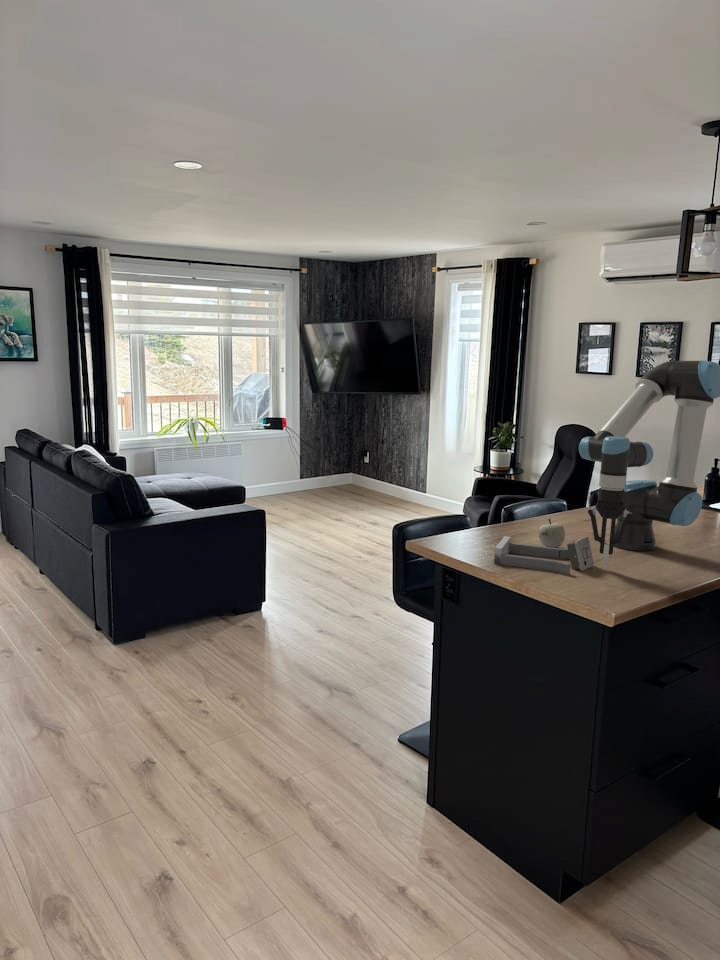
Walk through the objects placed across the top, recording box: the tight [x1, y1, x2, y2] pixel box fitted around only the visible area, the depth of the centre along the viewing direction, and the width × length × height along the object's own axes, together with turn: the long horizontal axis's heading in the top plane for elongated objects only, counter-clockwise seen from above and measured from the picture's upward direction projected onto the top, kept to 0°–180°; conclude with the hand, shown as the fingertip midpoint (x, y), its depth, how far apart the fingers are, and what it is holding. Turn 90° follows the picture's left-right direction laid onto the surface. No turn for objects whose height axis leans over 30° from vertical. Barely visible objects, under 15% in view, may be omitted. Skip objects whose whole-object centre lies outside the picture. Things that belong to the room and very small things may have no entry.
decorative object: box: [538, 518, 566, 548], centre depth 240 cm, size 9×9×10 cm
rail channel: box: [493, 535, 575, 576], centre depth 223 cm, size 23×21×5 cm
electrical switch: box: [566, 536, 595, 572], centre depth 218 cm, size 9×5×9 cm, turn 141°
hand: (605, 564), depth 216 cm, fingers closed
